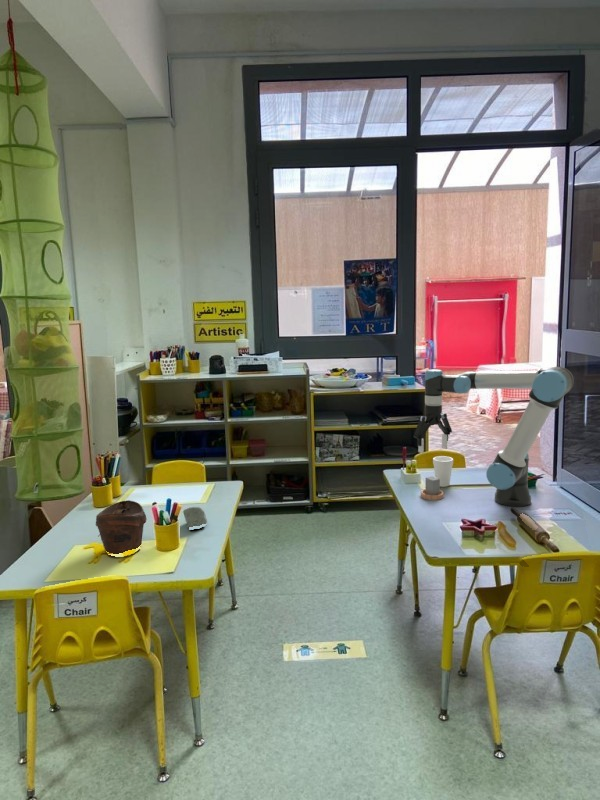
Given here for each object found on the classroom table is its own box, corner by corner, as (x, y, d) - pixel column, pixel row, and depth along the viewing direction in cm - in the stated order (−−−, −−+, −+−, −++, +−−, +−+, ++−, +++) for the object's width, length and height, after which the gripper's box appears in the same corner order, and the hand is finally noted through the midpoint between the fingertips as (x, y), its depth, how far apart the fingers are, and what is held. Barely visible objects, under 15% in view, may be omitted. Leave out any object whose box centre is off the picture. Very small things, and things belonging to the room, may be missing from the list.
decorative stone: (203, 534, 221) (211, 510, 225) (176, 525, 221) (186, 501, 224) (203, 537, 233) (211, 514, 237) (178, 529, 233) (187, 506, 236)
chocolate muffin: (136, 534, 222) (131, 492, 219) (157, 551, 207) (153, 506, 203) (91, 548, 211) (85, 504, 208) (110, 567, 196) (104, 519, 192)
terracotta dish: (448, 497, 253) (448, 493, 253) (430, 501, 249) (430, 497, 248) (433, 491, 262) (433, 487, 262) (416, 495, 258) (416, 490, 257)
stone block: (439, 495, 254) (439, 479, 253) (432, 497, 252) (432, 480, 251) (432, 492, 259) (432, 476, 257) (425, 494, 257) (425, 477, 255)
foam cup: (429, 482, 274) (429, 457, 272) (445, 480, 277) (446, 455, 274) (439, 488, 265) (439, 462, 263) (456, 486, 268) (457, 460, 266)
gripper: (449, 400, 257) (448, 444, 261) (405, 406, 246) (405, 452, 249) (460, 402, 250) (459, 448, 254) (416, 408, 239) (416, 456, 243)
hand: (432, 450), depth 252 cm, fingers open, 13 cm apart
